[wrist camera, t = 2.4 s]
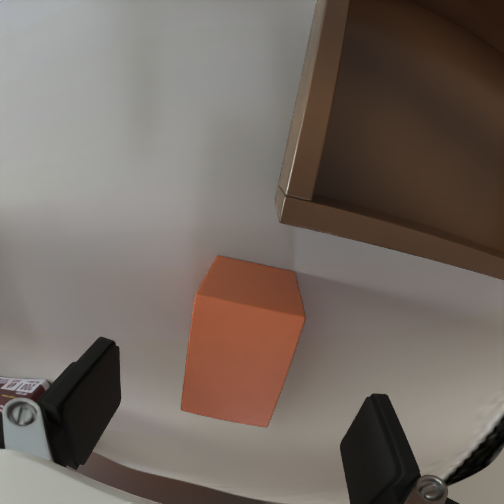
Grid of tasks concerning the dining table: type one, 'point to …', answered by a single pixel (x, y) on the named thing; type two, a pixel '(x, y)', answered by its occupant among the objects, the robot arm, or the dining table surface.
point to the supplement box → (21, 389)
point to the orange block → (241, 341)
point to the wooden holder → (402, 129)
